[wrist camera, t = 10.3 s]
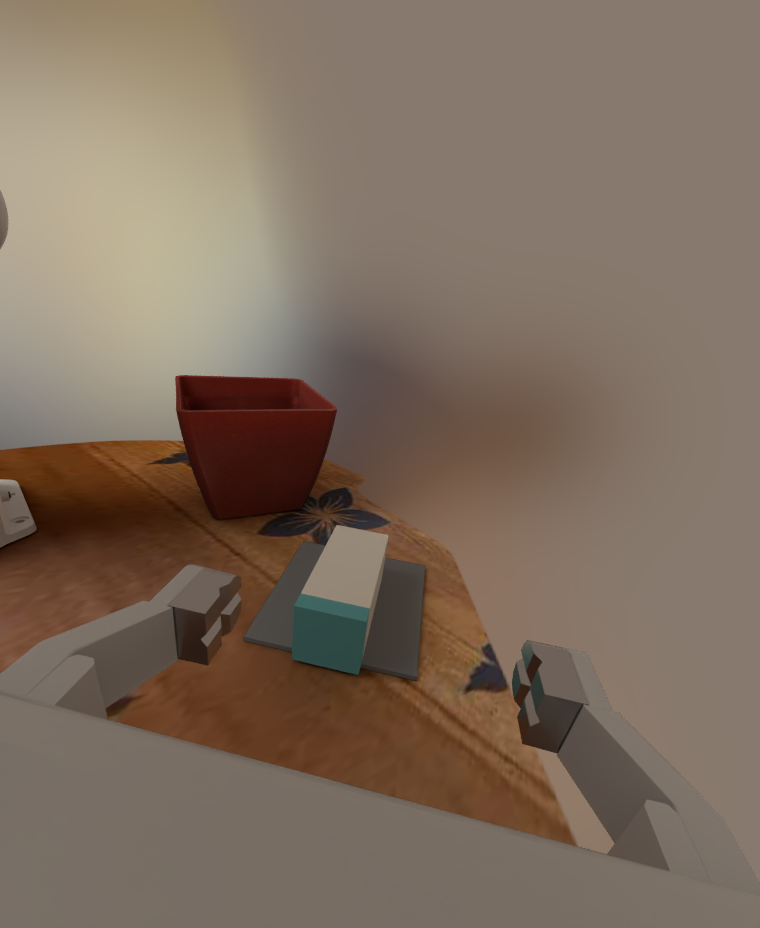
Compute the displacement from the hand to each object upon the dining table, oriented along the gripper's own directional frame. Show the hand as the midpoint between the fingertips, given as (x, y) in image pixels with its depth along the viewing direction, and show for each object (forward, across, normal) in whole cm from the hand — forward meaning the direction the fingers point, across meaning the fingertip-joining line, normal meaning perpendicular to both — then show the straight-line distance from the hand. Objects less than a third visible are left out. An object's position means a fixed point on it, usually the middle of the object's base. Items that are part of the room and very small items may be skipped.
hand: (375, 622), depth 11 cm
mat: (+24, +4, +22) cm, 32 cm away
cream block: (+14, +4, +18) cm, 23 cm away
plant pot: (+41, +24, +22) cm, 53 cm away
